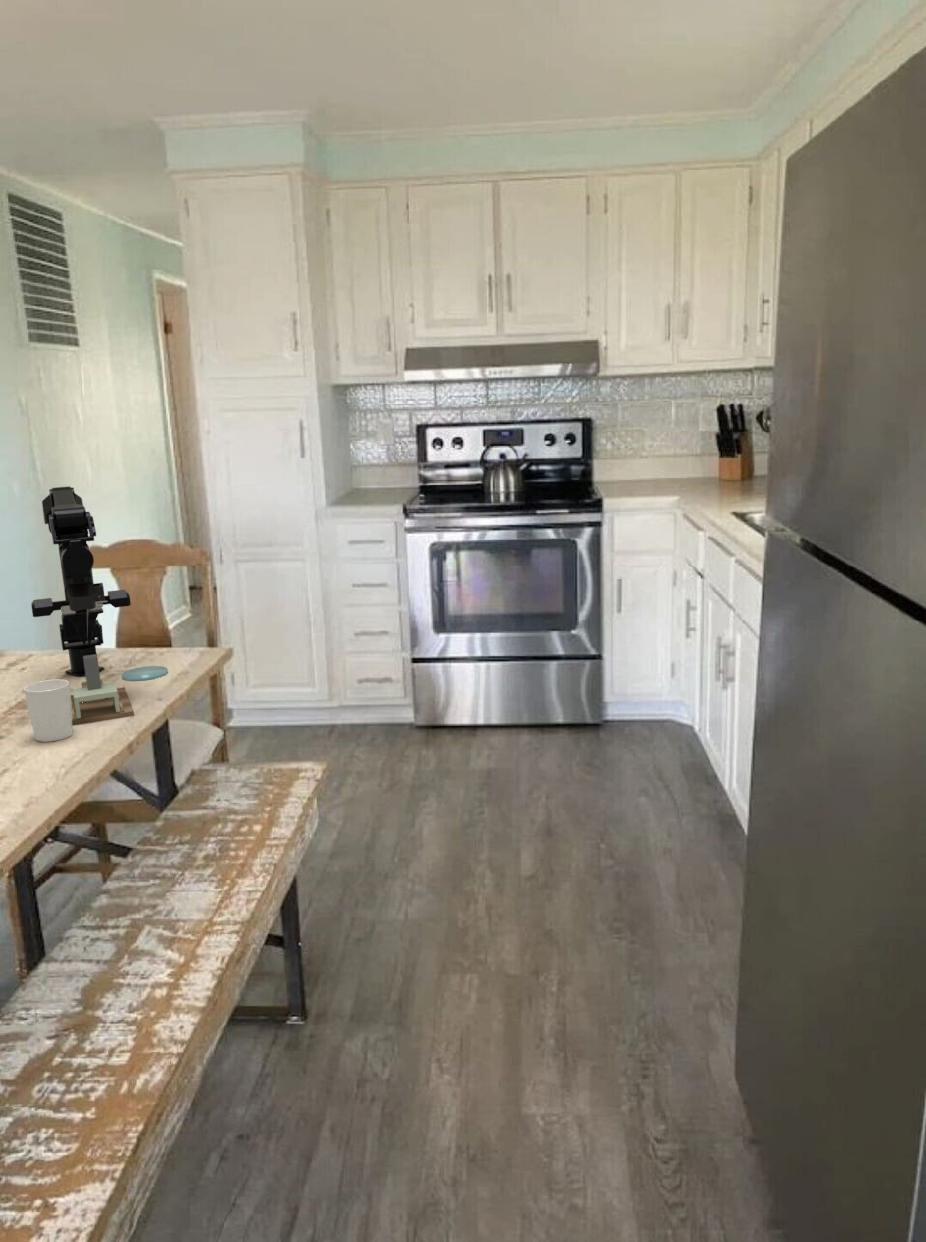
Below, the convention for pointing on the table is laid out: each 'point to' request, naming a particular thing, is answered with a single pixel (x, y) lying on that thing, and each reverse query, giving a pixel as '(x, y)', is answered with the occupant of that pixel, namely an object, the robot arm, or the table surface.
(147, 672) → the teal saucer
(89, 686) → the sliding cover
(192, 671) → the table surface
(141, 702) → the table surface
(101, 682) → the block
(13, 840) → the table surface
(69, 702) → the white cup
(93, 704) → the puzzle board
